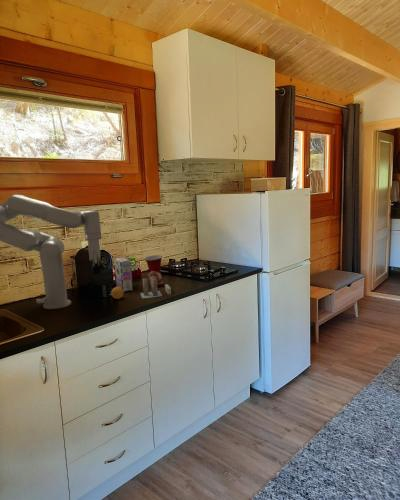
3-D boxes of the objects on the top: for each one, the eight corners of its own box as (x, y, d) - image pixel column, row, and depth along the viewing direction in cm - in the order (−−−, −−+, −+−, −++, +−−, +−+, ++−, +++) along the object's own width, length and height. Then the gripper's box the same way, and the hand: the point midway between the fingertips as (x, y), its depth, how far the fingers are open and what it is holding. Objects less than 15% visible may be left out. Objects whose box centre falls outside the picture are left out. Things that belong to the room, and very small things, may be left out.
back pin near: (153, 296, 190) (152, 279, 188) (152, 295, 192) (151, 278, 191) (158, 296, 190) (156, 279, 189) (157, 294, 193) (156, 278, 191)
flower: (141, 283, 210) (145, 273, 206) (150, 276, 217) (154, 266, 213) (155, 294, 208) (159, 283, 204) (163, 286, 216) (168, 276, 211)
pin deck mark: (142, 298, 187) (142, 298, 187) (140, 293, 197) (140, 293, 197) (162, 296, 189) (162, 295, 189) (159, 291, 199) (159, 290, 199)
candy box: (133, 290, 203) (131, 260, 201) (122, 292, 201) (120, 261, 198) (126, 285, 216) (124, 256, 213) (116, 286, 213) (113, 258, 211)
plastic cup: (142, 276, 235) (140, 257, 233) (154, 273, 244) (153, 254, 242) (155, 278, 229) (153, 258, 227) (167, 274, 237) (165, 255, 235)
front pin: (144, 296, 191) (142, 279, 190) (143, 295, 193) (142, 278, 192) (148, 295, 192) (147, 279, 190) (148, 294, 194) (147, 278, 192)
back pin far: (151, 294, 194) (150, 277, 193) (151, 292, 197) (150, 276, 195) (156, 293, 195) (155, 277, 194) (155, 292, 197) (154, 276, 196)
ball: (112, 301, 185) (110, 289, 184) (111, 297, 191) (110, 286, 190) (124, 299, 187) (123, 287, 186) (123, 296, 193) (122, 284, 192)
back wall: (168, 294, 192) (167, 288, 192) (165, 290, 201) (164, 284, 200) (171, 294, 193) (170, 288, 192) (168, 289, 201) (167, 284, 201)
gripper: (85, 235, 188) (89, 271, 191) (84, 238, 174) (89, 278, 177) (101, 234, 190) (105, 270, 193) (101, 237, 175) (105, 276, 178)
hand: (97, 273), depth 185 cm, fingers closed
